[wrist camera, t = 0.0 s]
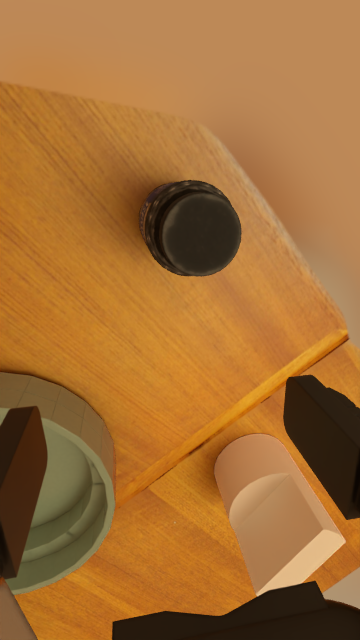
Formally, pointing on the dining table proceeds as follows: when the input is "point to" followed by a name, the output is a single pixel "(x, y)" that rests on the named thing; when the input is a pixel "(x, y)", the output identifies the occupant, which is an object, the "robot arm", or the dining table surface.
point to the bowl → (63, 482)
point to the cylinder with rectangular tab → (273, 513)
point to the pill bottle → (190, 228)
